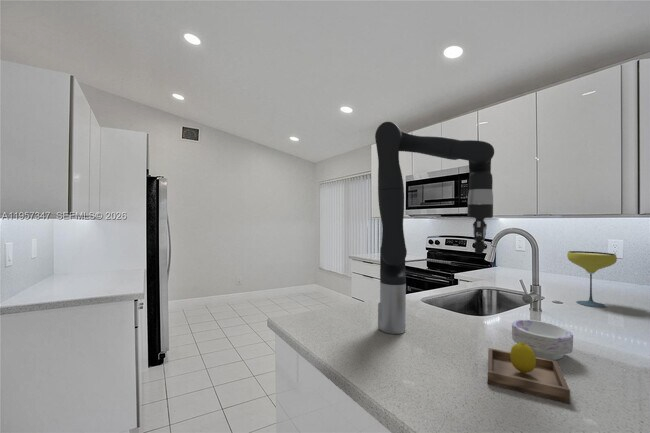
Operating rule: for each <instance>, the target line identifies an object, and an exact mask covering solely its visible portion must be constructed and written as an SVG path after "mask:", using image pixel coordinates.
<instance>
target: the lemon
mask: <svg viewBox="0 0 650 433" xmlns="http://www.w3.org/2000/svg"><path fill="white" fill-rule="evenodd" d="M510 352H511V353H510V359H511V362H512V364H513V366H514V367H515V368H516V369H517V370H519V371H520V372H521V373H522V374H525V373H528V372H531V371H532V370H533V369H534V368H535V365H536V357H535V354H534V352H533V350H532V349H531V348H530V347H529V346H528V345H526V344H525V343H523V342H521V343H518V344H517V343H515V344H514V345H513V346H512V347H511V349H510Z"/></svg>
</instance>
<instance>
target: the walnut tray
mask: <svg viewBox="0 0 650 433" xmlns="http://www.w3.org/2000/svg"><path fill="white" fill-rule="evenodd" d="M487 351H488V352H487V385H490V386H494V387H500V388H502V389H507V390H511V391H514V392H515V391H516V392H519V393H523V394H527V395H530V396H536V397H538V398H539V397H540V398H543V399H544V398H545V399H548V400H553V401H556V402H561V403H565V404H568V405H571V402H570V401H571V393H570V392H571V389H570V387H569V385H568V383H567V380H566V379H565V376H564V374H563V372H562V370H561V367H560V365H559V364H558V361H557V360H549V359H544V358H539V357H536V365H535V368H534V369H533V370H532V371H531V372H528V373H525V374H522V373H521V372H520V371H519V370H517V369H516V368H515V367H514V366H513V364H512V362H511V359H510V353H511V351H506V350H500V349H497V348H493V347H492V348H491V347H490V348H489V347H488V348H487Z"/></svg>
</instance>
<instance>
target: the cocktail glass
mask: <svg viewBox="0 0 650 433" xmlns="http://www.w3.org/2000/svg"><path fill="white" fill-rule="evenodd" d="M566 257H567V259H568V261H570V262H571V263H573V264H574V265H576V266H578V267H580V268H582V269H584V270H585V271H586V272H587V273H588V274H589V297H588V300H576V303H577V304H578V305H581V306H585V307H592V308H606V306H607V305H605V304H603V303H601V302H596V301H594V299H593V292H592V291H593V282H592V281H593V278H592V276H593V274H595V273H596V272H598V270H599V271H600V270H601V269H605V268H608V267H611V266H613V265H614V264H616V263H617V259H618V258H617V254H615V253H611V252H602V251H601V252H600V251H586V250H585V251H582V250H581V251H580V250H572V251H571V250H569V251H567V254H566Z"/></svg>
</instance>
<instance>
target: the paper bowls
mask: <svg viewBox="0 0 650 433" xmlns="http://www.w3.org/2000/svg"><path fill="white" fill-rule="evenodd" d="M511 338H512V340H513V342H514V343H515V344H518V343H521V342H523V343H525V344H526V345H528V346H529V347H530V348H531V349H532V350H533V352H534V354H535V357H539V358H544V359H549V360H555V361H557V360H560V359H562V358H563V357H564V356H565V355H567V354H568V355H570V354H571V353H573V351H574V349H573V348H574V335H573V332H571V331H570V330H568V329H567V328H565V327H563V326H560V325H557V324H553V323H550V322H546V321H541V320H535V319H518V320H514V321H513V322H512V323H511Z"/></svg>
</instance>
